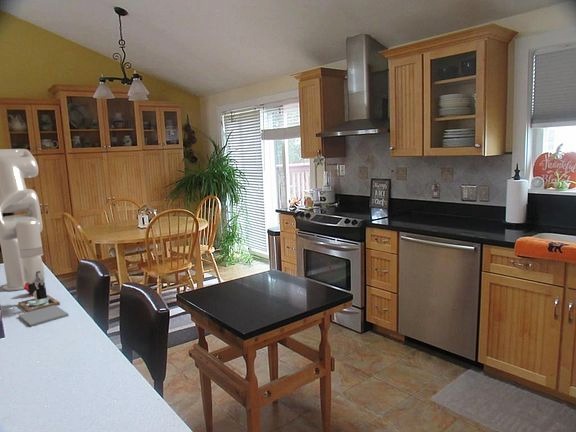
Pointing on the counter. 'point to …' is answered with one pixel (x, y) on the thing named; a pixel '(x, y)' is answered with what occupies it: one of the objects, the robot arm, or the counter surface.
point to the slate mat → (43, 315)
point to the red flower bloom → (27, 287)
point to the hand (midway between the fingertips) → (38, 296)
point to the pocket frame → (25, 307)
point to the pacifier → (38, 301)
